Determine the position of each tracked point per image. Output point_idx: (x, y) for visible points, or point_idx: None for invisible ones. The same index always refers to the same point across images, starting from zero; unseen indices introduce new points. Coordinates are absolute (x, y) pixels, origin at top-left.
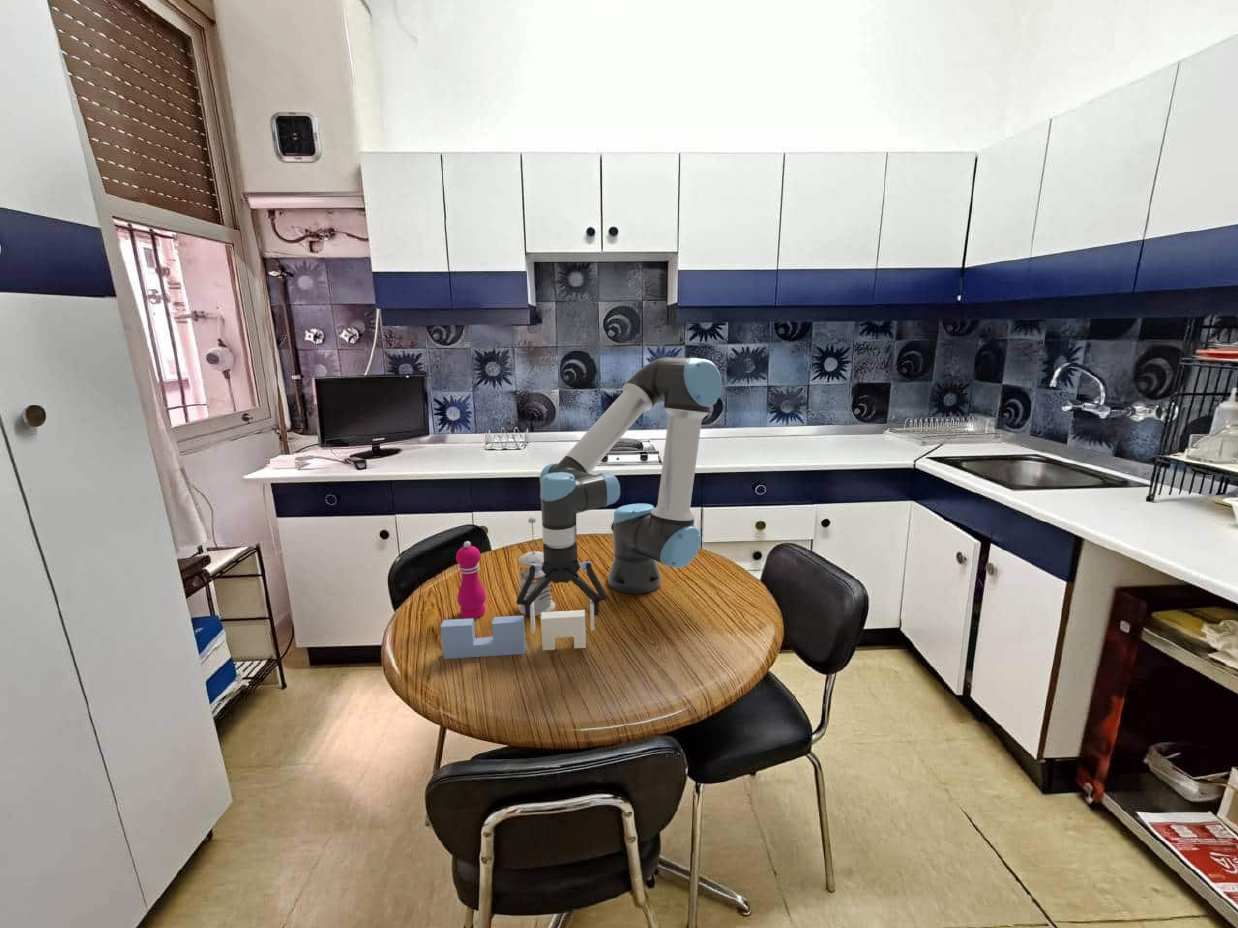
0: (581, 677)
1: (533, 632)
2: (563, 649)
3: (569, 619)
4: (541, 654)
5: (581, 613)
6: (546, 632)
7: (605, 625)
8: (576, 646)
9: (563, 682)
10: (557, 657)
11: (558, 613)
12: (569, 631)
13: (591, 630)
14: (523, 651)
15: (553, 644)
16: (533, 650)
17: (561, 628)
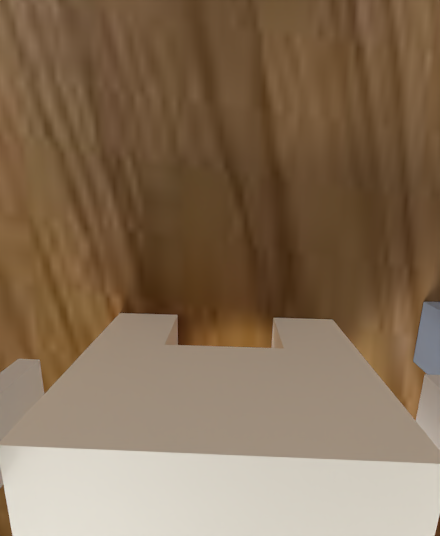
0: (136, 47)
1: (436, 379)
2: (229, 313)
3: (159, 431)
4: (339, 286)
5: (39, 495)
6: (342, 371)
7: None
8: (164, 318)
9: (233, 9)
10: (260, 249)
11: (263, 526)
12: (183, 364)
13: (37, 359)
14: (437, 306)
15: (282, 329)
16: (376, 325)
17: (237, 382)
